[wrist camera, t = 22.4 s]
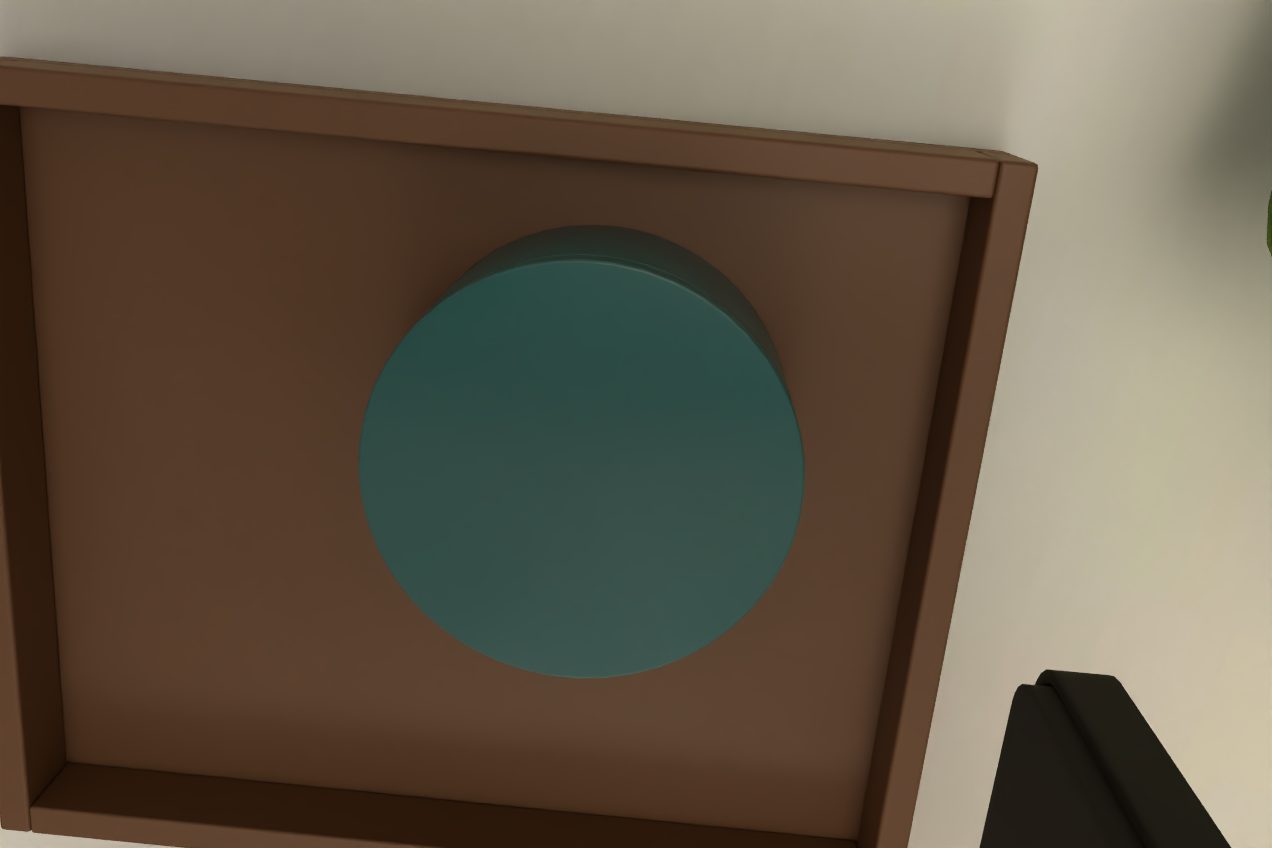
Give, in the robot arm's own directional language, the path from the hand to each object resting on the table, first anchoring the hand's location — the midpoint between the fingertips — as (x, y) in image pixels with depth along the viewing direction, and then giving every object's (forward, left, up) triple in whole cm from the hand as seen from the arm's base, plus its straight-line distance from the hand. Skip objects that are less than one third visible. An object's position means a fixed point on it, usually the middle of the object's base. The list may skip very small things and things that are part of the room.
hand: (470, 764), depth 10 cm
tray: (-2, -2, -12) cm, 12 cm away
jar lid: (0, 0, -11) cm, 11 cm away
